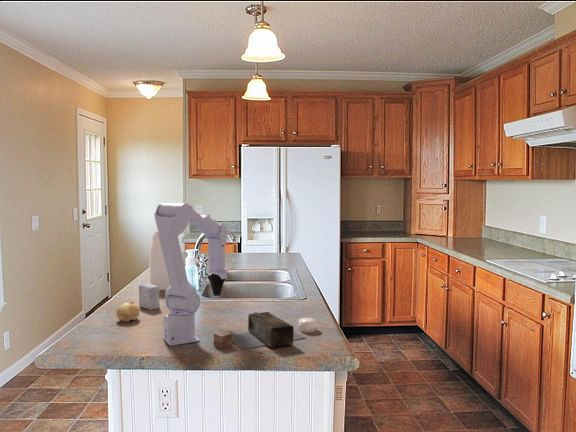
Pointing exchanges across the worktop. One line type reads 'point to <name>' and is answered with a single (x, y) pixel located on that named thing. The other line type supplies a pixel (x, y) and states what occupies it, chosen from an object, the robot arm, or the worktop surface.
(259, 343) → the mat
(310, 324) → the cream egg shape
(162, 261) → the milk
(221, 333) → the walnut block
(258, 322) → the beverage carton
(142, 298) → the medicine box
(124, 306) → the onion
